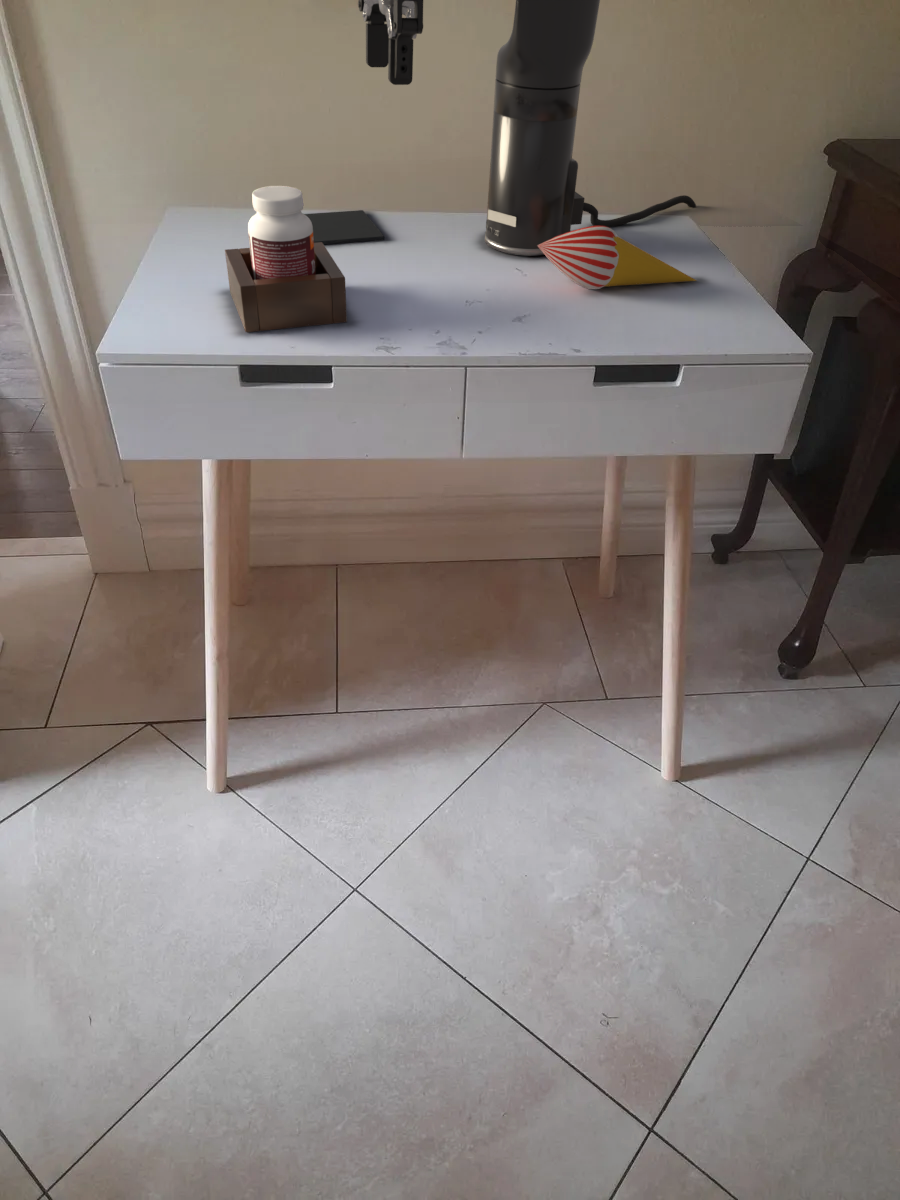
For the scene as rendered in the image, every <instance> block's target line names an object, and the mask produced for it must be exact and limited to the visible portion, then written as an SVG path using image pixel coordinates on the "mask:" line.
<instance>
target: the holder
mask: <svg viewBox="0 0 900 1200" xmlns="http://www.w3.org/2000/svg"><path fill="white" fill-rule="evenodd" d="M224 255H225V263H226V270H227V279H228V285H229V293H230V296H231V299H232V301H233V304H234V306H235V309H236V311H237V314H238V316H239V319H240V322H241V324H242V327H243V330H244V331H245V333H254V332H264V331H273V330H282V329H293V328H303V327H312V326H321V325H333V324H340V323H341V324H342V323H347V322H348V316H347V315H348V314H347V313H348V311H347V291H346V288H347V287H346V277H345V275H344V274H343V272H342V270H341V269H340V267H339V266H338V265H337V263H336V261H335V259H334V258H333V256H332V255H331V253H330V251H328V249H327V247H326V246H325V244H323V243H322V242H317V243H314V256H315V272H316V275H305V276H294V277H282V278H271V279H259V280H253V272H252V262H251V253H250V247H243V248H242V247H241V248H229V249H224Z"/></svg>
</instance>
